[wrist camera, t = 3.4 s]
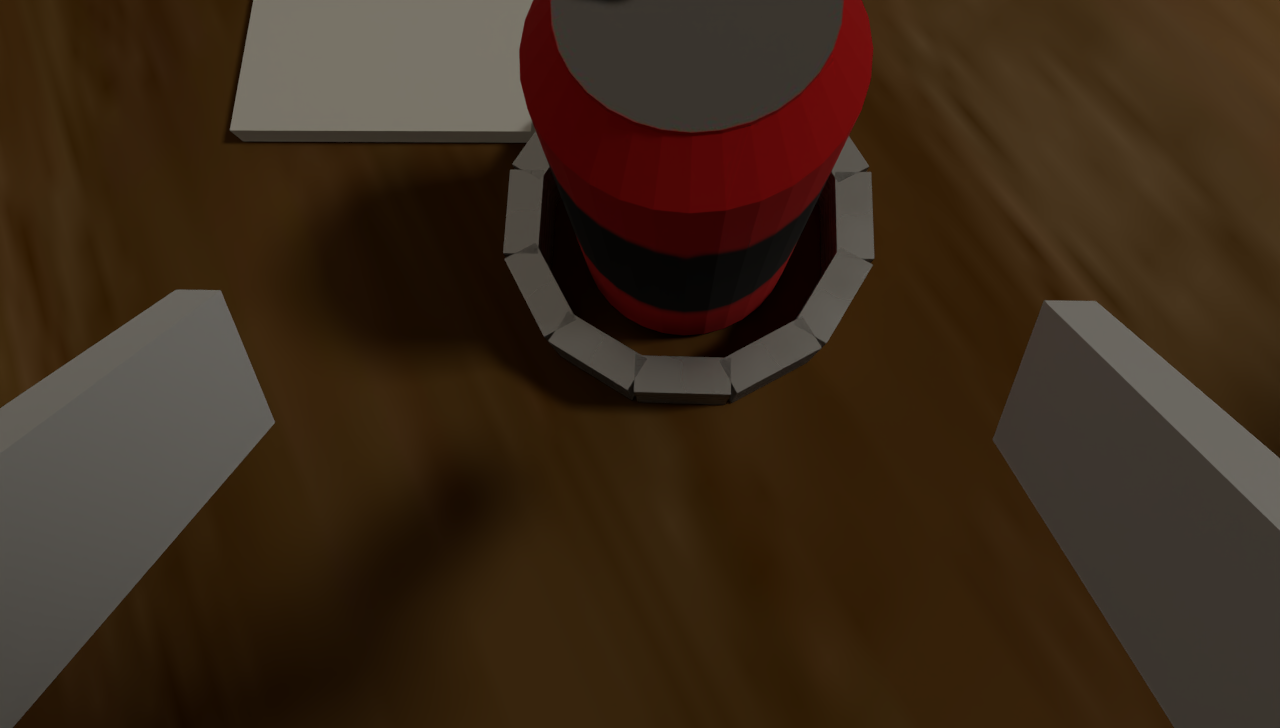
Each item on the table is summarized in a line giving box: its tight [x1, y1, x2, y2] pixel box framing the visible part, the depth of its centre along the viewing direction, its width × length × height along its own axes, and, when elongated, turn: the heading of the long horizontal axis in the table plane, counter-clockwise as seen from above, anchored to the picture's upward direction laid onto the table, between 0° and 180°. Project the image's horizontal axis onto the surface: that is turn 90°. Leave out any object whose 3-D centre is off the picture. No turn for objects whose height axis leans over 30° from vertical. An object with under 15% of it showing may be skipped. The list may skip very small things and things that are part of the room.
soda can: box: [519, 0, 873, 335], centre depth 18 cm, size 8×8×12 cm
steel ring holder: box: [503, 131, 874, 405], centre depth 23 cm, size 12×12×2 cm
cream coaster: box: [230, 0, 536, 143], centre depth 26 cm, size 12×12×1 cm
